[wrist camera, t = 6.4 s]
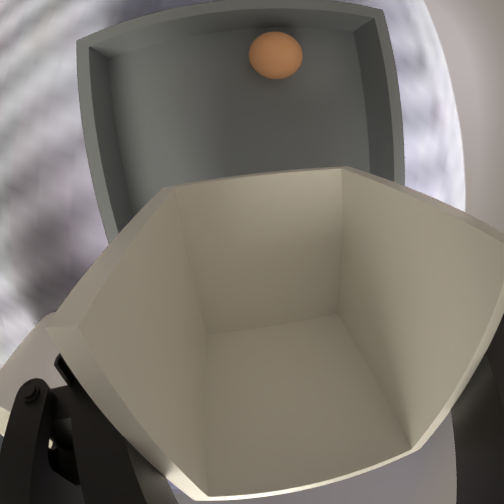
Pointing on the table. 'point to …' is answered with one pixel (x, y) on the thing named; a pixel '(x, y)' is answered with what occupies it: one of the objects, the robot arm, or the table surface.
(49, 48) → the table surface
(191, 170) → the tray
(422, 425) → the cream open-top bin
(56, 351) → the candle holder
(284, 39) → the ball
